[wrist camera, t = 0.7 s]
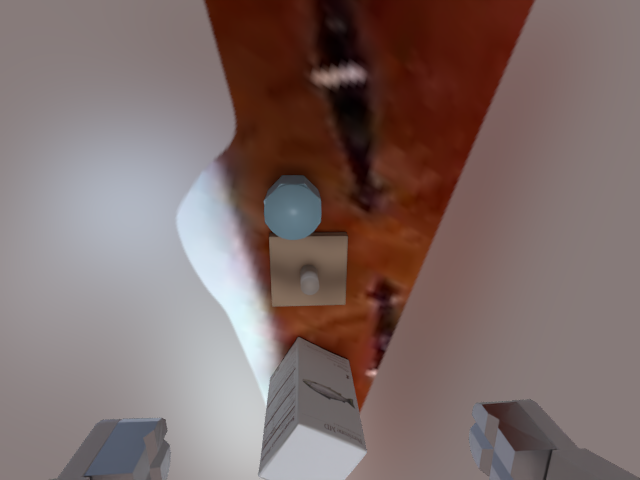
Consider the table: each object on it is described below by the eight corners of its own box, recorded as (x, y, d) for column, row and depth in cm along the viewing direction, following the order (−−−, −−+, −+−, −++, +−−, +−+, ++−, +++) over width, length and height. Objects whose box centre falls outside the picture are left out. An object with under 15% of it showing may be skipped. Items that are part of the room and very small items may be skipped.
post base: (269, 233, 36) (266, 248, 32) (346, 232, 37) (352, 247, 33) (272, 300, 39) (269, 323, 35) (343, 299, 39) (349, 321, 35)
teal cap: (267, 175, 34) (262, 184, 30) (318, 175, 35) (321, 184, 30) (269, 224, 36) (265, 240, 31) (317, 223, 36) (321, 239, 32)
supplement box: (350, 358, 42) (371, 453, 30) (318, 400, 44) (326, 505, 32) (298, 333, 41) (298, 423, 29) (267, 378, 43) (255, 480, 31)
